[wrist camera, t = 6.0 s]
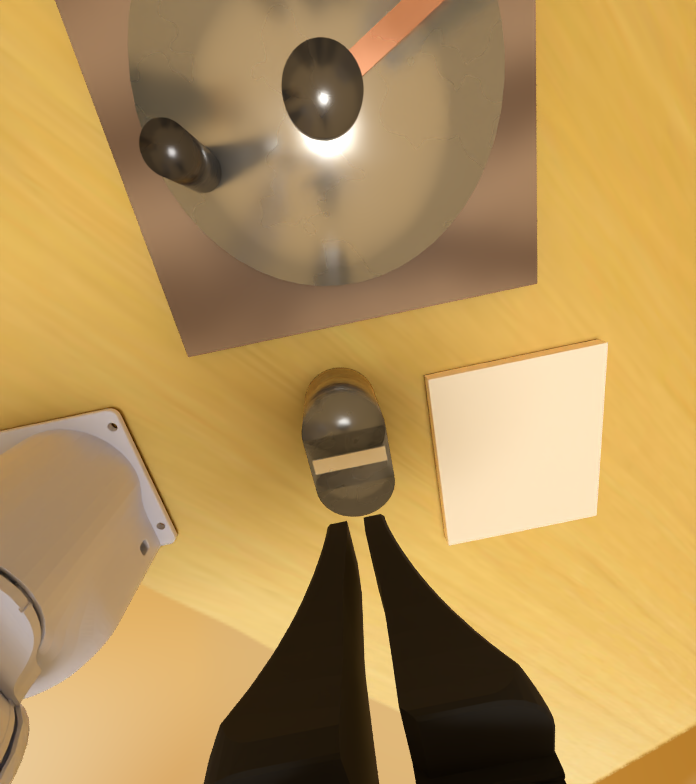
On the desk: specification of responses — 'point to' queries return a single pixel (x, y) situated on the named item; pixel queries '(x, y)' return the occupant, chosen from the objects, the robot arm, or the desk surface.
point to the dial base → (308, 302)
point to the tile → (518, 440)
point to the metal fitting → (347, 443)
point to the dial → (318, 123)
